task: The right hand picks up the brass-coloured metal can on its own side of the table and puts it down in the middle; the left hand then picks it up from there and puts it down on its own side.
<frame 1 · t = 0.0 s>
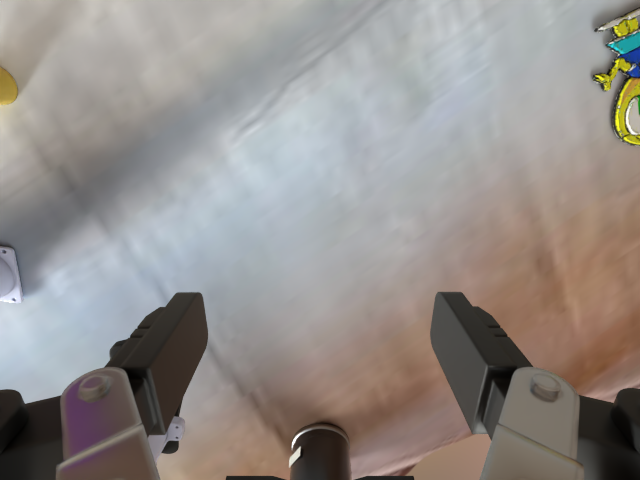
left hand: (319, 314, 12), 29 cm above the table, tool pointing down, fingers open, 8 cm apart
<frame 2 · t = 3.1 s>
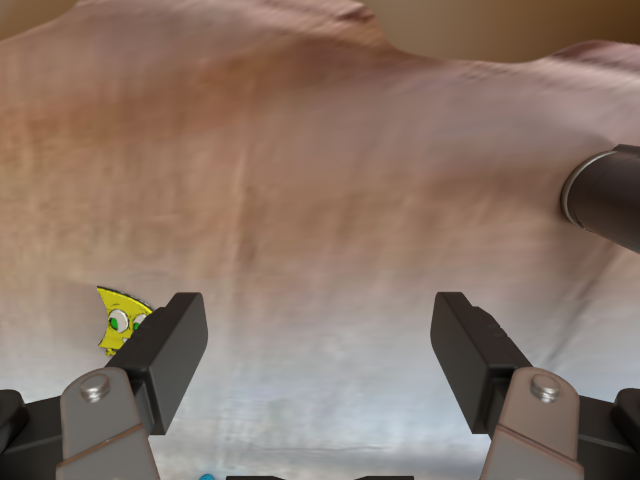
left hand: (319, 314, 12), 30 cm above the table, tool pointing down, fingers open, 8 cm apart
toy 2: (134, 337, 48), on the table
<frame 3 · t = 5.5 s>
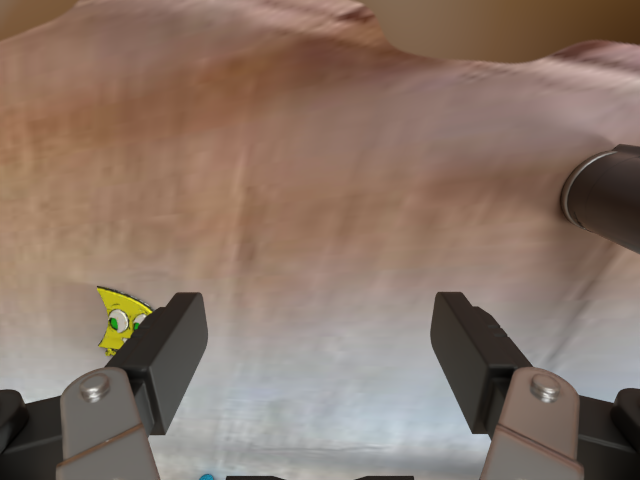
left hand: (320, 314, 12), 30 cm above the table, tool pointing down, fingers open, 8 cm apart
toy 2: (134, 337, 48), on the table
when the right hand's fingers open (2 cm above the table, at t = 8.2 s): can stays where it is, on the table.
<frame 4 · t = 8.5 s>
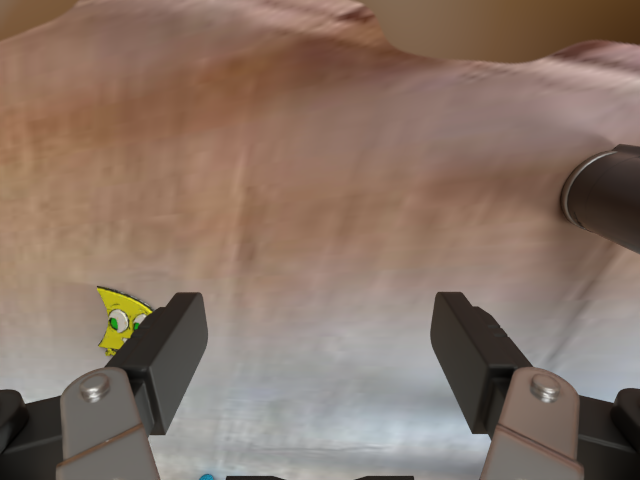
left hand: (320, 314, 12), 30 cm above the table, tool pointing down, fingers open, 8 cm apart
toy 2: (134, 337, 48), on the table
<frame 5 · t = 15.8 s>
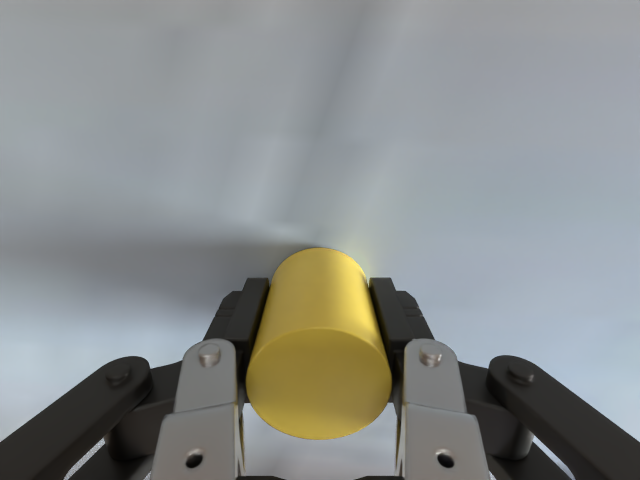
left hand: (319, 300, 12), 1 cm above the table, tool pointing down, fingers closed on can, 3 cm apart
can: (319, 291, 13), on the table, touching left hand
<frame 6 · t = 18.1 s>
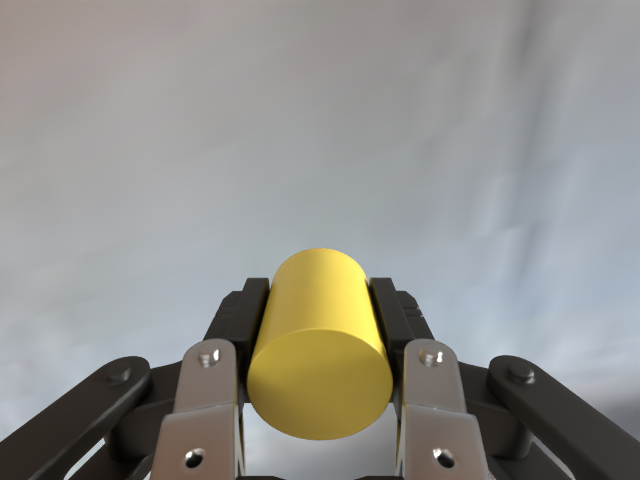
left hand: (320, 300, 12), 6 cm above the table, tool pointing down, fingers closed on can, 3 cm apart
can: (319, 292, 13), point 6 cm above the table, touching left hand
when the left hand's fingers open (2 cm above the table, at t = 20.7 s): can stays where it is, on the table.
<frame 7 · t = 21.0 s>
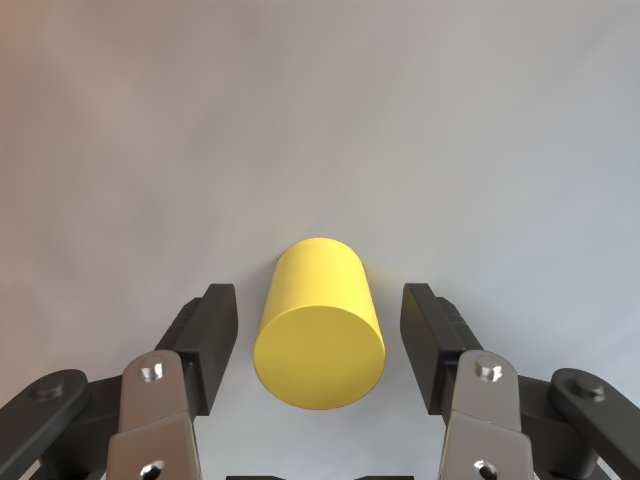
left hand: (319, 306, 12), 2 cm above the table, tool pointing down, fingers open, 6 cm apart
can: (319, 279, 14), on the table
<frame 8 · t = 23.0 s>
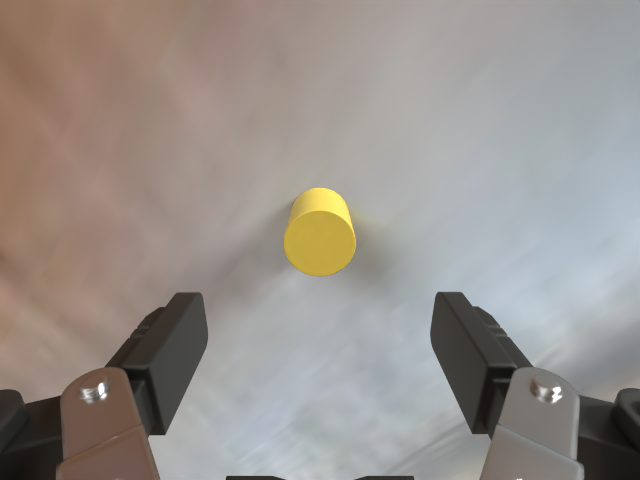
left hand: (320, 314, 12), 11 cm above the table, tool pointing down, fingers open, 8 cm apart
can: (319, 216, 22), on the table
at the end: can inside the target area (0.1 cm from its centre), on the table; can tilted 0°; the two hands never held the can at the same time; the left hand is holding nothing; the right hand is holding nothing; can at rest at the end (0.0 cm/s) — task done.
